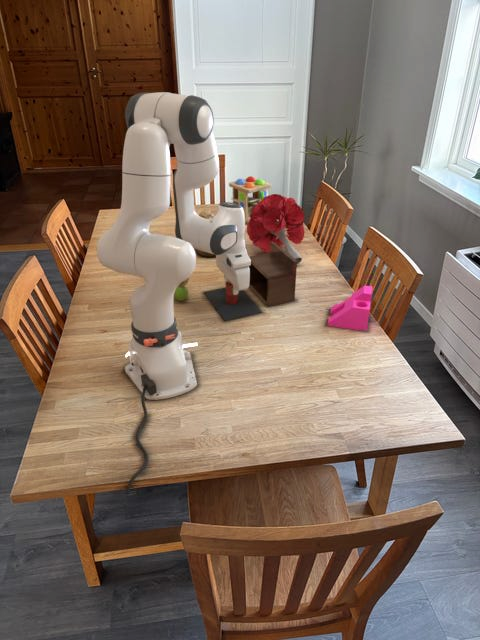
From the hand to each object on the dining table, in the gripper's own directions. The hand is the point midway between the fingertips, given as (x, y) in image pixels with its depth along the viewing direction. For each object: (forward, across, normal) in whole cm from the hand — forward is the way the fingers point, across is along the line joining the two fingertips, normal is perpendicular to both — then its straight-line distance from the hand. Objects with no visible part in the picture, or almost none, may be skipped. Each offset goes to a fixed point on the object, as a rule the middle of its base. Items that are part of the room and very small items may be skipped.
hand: (231, 289), depth 166 cm
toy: (+4, 0, 0) cm, 4 cm away
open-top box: (+5, -1, +15) cm, 16 cm away
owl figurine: (+5, -43, +8) cm, 44 cm away
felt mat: (+5, 0, 0) cm, 5 cm away
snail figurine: (+2, -8, -16) cm, 18 cm away
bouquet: (+5, -28, +32) cm, 43 cm away
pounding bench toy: (+5, -67, +40) cm, 78 cm away
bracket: (+5, +25, +30) cm, 39 cm away
